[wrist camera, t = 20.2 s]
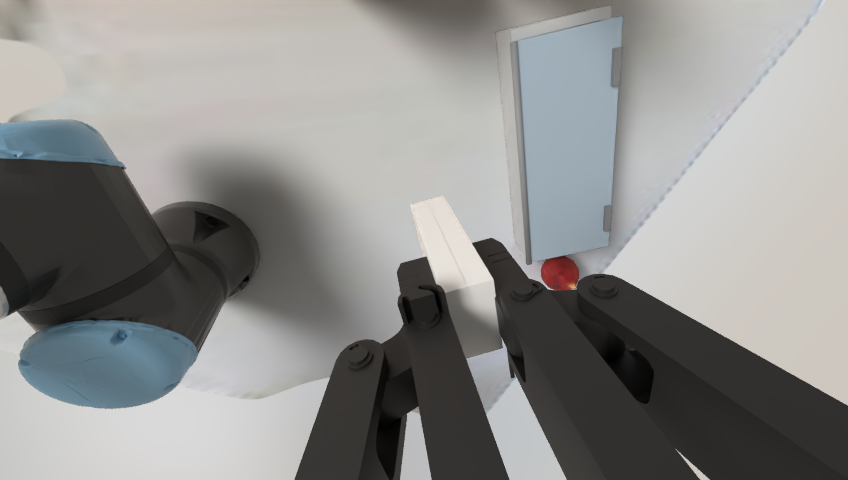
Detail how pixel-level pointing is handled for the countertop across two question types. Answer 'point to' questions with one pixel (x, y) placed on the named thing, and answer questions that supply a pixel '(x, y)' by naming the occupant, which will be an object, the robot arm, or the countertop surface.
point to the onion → (560, 273)
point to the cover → (567, 135)
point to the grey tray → (508, 97)
